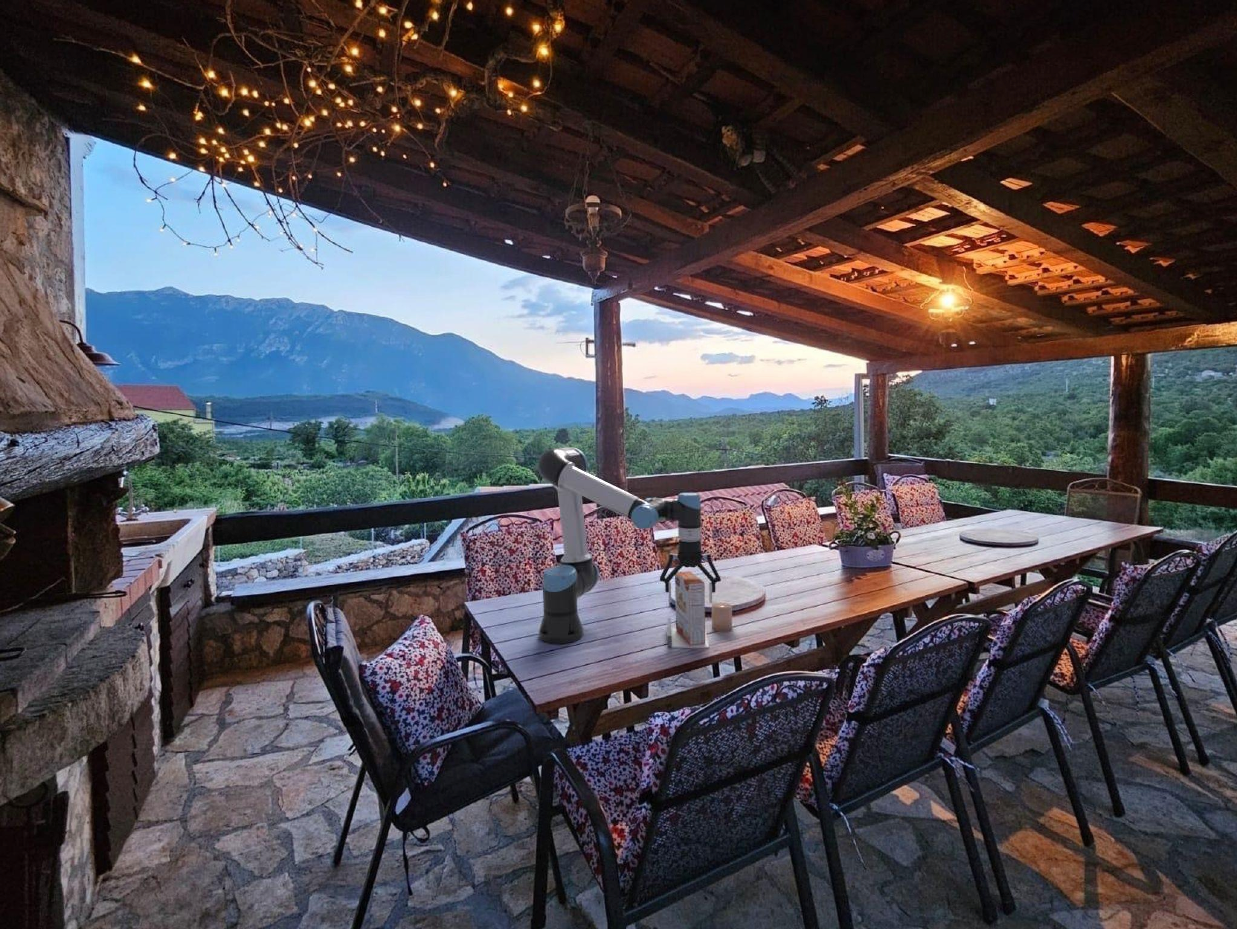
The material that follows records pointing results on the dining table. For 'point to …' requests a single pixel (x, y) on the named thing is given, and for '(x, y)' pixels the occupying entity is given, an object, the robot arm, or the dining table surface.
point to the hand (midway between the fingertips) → (690, 601)
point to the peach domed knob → (721, 617)
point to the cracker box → (690, 607)
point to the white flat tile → (680, 639)
